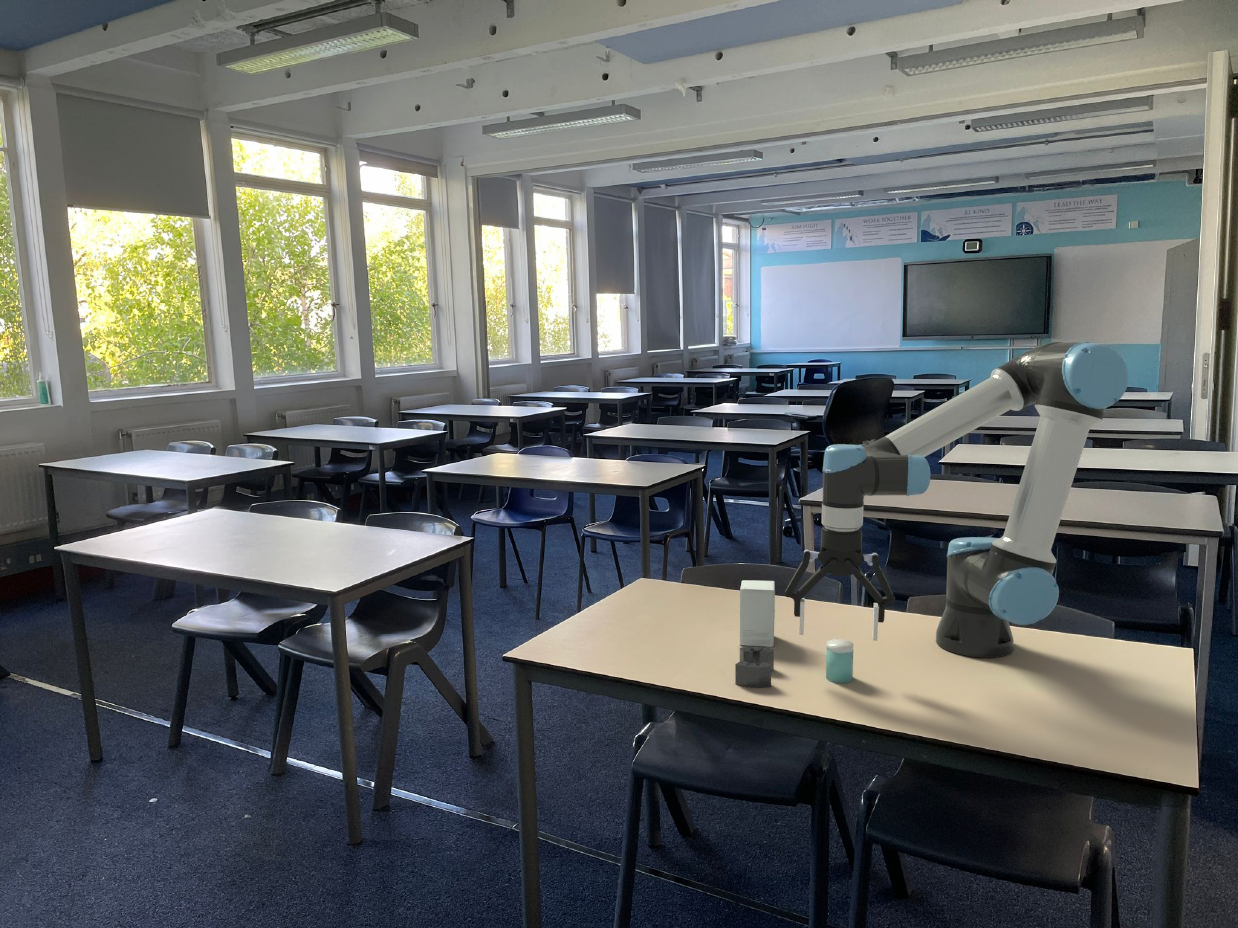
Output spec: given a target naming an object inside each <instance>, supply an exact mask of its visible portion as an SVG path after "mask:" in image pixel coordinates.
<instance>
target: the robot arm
mask: <svg viewBox="0 0 1238 928" xmlns="http://www.w3.org/2000/svg"><path fill="white" fill-rule="evenodd" d="M1128 384H1129V370H1128V367H1127V363H1126V362H1125V361H1124V359H1123V357H1122V355H1121V353H1119V352H1118V351H1117V350H1115V349H1114V348H1112V347H1110V346H1109V345H1106V344H1102V343H1096V342H1089V341H1082V342H1081V341H1080V342H1062V341H1054V342H1053V341H1051V342H1048V343H1047V342H1046V343H1044V344H1040V345H1038V346H1035V347H1033V348H1031V349H1029V350H1026V351H1025V352H1023V353H1021V354H1020V355H1018V356H1016V357H1014V358H1012V359H1010V360H1008V361H1007V362H1005V363H1004V364H1002V365H1000V366H998V367H996V368H995V369H993V370H992V371H991V373H990V376H989V378H987V379H985V380H983V381H981V382H980V383H978V384H976V385H975V386H973V387H971V388H969V389H967V390H966V391H964V392H962V393H960V394H959V395H956V396H955V397H953V398H951V399H949V400H947V401H946V402H944V403H941V405H939V406H937V407H935V408H933V409H932V410H930V411H928V412H925V413H924V414H923V415H921V416H919V417H917V418H916V419H913V420H912V421H910V422H909V423H906V424H905V425H903V426H901V427H899V428H898V429H896V430H894V431H892V432H890V433H889V434H887V435H885V436H882V437H881V438H879V439H877V440H875V441H874V442H872V443H865V444H864V443H863V444H845V443H843V444H842V443H840V444H839V443H837V444H831V445H829V446H827V447H826V448H825V451H824V454H823V464H822V465H823V466H822V502H821V524H822V527H821V529H820V549H819V550H818V551H813V550H810V549H809V548H805V549H804V550H803V557H802V560H801V562H800V563H799V566H798V568H797V569H796V570H795V572H794V574H793V576H792V578H791V580H790V581H789V583H788V585H787V586H786V588H785V591H784V596H785V597H786V598H789V599H792V600H793V614H794V617H797V618H799V632H798V633H799V635H800V636H804V633H805V603H806V599H805V596H806V595H807V594H808V593H809V592H810V591H811V590H812V589H813V588H814V587H815V585H817V584H818V583H819V582H820V581H821V580H822V579H824V577H825V576H826V575H831V576H832V577H839V576H842V577H847V578H849V577H851V576H852V575H853V577H855V578H856V580H857V581H858V582H859V583H860V584H861V585H862V587H864V590H866V592H867V593H868V594H869V595H870V597H872V599H873V601H874V602H873V613H872V633H871V634H872V636H871V637H872V641H878V633H879V631H878V630H879V623H884V621H885V613H886V612H885V611H886V610H885V609H886V607H887V605H894V604H895V603H896V597H895V595H894V593H893V591H892V589H891V586H890V584H889V583H888V580H887V578H886V576H885V574H884V572H883V570H882V568H881V566H880V558H879V554H878V553H877V552H876V551H874V552H872V553H869V554H868V553H867V554H863V552H862V551H863V549H862V548H863V547H862V546H863V529H862V528H861V527H863V525H864V524H863V523H864V506H865V505H864V504H865V502H864V501H865V496H868V497H870V496H871V497H872V496H906V497H909V496H915V495H916V496H917V495H922V494H925V493H926V492H927V490H928V488H929V486H930V483H931V468H930V465H929V462H928V460H927V459H926V457H927V456H929V455H931V454H932V453H934V452H936V451H937V450H940V449H942V448H944V447H945V446H947V445H949V444H951V443H952V442H955V441H956V440H957V439H959V438H961V437H963V436H965V435H967V434H969V433H971V432H972V431H974V430H976V429H978V428H980V427H981V426H983V425H985V424H986V423H987V424H988V422H991V421H993V420H994V419H997V417H999V416H1001V415H1003V414H1005V413H1006V412H1009V411H1010V410H1011V411H1016V412H1018V411H1022V410H1023V409H1024V408H1026V407H1028V406H1031V405H1034V408H1035V409H1036V411H1037V414H1039V421H1038V425H1037V427H1036V431H1035V434H1034V436H1033V441H1032V443H1031V447H1030V449H1029V453H1028V456H1027V458H1026V461H1025V462H1026V463H1025V465H1024V467H1023V468H1024V469H1023V472H1022V475H1021V478H1020V481H1019V485H1018V486H1017V487H1018V488H1017V491H1016V493H1015V494H1016V495H1015V498H1014V500H1013V503H1012V508H1011V510H1010V513H1009V516H1008V520H1007V523H1006V527H1005V530H1004V532H1003V535H1002V536H1001V537H1000V538H998V537H984V536H983V537H982V536H981V537H980V536H977V537H974V536H970V537H957V538H954V539H952V540H951V541H950V542H949V543H948V548H947V554H946V560H947V563H946V596H945V598H946V599H945V601H946V602H945V609H944V611H943V613H942V616H941V618H940V621H939V623H938V625H937V629H936V632H935V643H936V644H937V645H938V646H939V647H940V648H941V649H943V650H946V651H948V652H950V653H953V654H957V655H961V656H967V657H975V658H999V657H1005V656H1007V655H1009V654H1011V653H1012V652H1013V651H1014V640H1015V639H1014V636H1013V632H1012V630H1011V626H1010V623H1011V624H1014V625H1019V626H1020V625H1021V626H1028V625H1031V624H1035V623H1037V622H1039V621H1040V620H1044V619H1045V618H1046V617H1048V616H1049V615H1050V614H1051V613H1052V612H1053V610H1054V609H1055V607H1056V605H1057V604H1058V600H1059V596H1060V595H1059V594H1060V590H1059V585H1058V584H1057V580H1056V579H1055V577H1054V576H1053V573H1054V570H1055V567H1056V564H1057V559H1056V557H1055V556H1054V554H1053V552H1052V548H1053V544H1054V541H1055V538H1056V536H1057V535H1056V534H1057V532H1058V529H1059V525H1060V522H1061V520H1062V516H1063V513H1064V510H1065V507H1066V504H1067V501H1068V497H1069V495H1070V491H1071V488H1072V484H1073V483H1074V478H1075V475H1076V473H1077V469H1078V466H1079V464H1080V460H1081V457H1082V454H1083V451H1084V448H1085V444H1086V441H1087V438H1088V435H1089V432H1090V429H1092V427H1094V426H1097V425H1098V424H1099V423H1102V421H1103V419H1104V416H1105V411H1106V409H1107V408H1109V407H1111V406H1113V405H1114V404H1115V403H1117V402H1118V401H1119V400H1121V398H1122V397H1123V396H1124V394H1125V392H1126V391H1127V388H1128ZM815 559H818V561H819V562H820V564H821V565H820V567H818V569H817V570H816V571H815V572H814V573H813V574H812V575H811V576H810V577H809V578H808V579H807V580H806V581H805V582H804V583H803V584H802V585H801V586H800V588H798V590H797V591H796V588H797V586H798V584H799V583H800V581H801V579H802V577H803V576H804V574H805V572H806V571H807V568H808V567H809V564H810V563H811V564H812V563H813V562H814V561H815ZM864 561H865V562H866V563H867V565H868V566H870V567H872V569H873V572H874V574H875V576H876V579H878V583H879V584H880V586H881V588H882V591H883V593H884V595H885V596H883V595H882V594H881V593H880V592H879V590H878V589H877V588H876V587H875V586H874V585H873V583H872V582H871V581H870V580H869V579H868V577H867V576H866V575H865V573H864V572H863V571H862V569H861V568H860V566H862V564H864Z"/></svg>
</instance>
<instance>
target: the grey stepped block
mask: <svg viewBox="0 0 1238 928" xmlns="http://www.w3.org/2000/svg"><path fill="white" fill-rule="evenodd" d="M774 652H775V650H774V649H772V648H769V647H764V646H744V647H743V646H742V647H739V662H737V663H735V664H734V665H735V666H734V667H735V672H734V673H735V685H737V686H738V685H739V686H742V687H745V688H757V689H762V688H770V687H772V671H773V670H774V669H775V667H774V666H775V664H774V663H775V658H774V657H775V653H774Z"/></svg>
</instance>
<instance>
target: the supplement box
mask: <svg viewBox="0 0 1238 928" xmlns="http://www.w3.org/2000/svg"><path fill="white" fill-rule="evenodd" d="M775 584H776V583H775V581H774V580H752V579H751V580H741V585H740V588H739V589H740V590H739V592H740V593H739V645H740V646H745V647H764V648H773V647H774V643H775V615H776V614H775V612H776V610H775V609H776V608H775V607H776V606H775V605H776V589H775V588H776V585H775Z"/></svg>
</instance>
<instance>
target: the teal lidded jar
mask: <svg viewBox="0 0 1238 928" xmlns="http://www.w3.org/2000/svg"><path fill="white" fill-rule="evenodd" d="M825 660H826V661H825V665H826V666H825V668H826V669H825V679H826V680H827V681H828V682H830V683H835V684H841V685H842V684H848V683H851V682H852V681H853V680H854V676H853V675H854V643H853V641H850V640H847V639H839V638H834V639H829V640H827V641H826V659H825Z"/></svg>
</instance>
